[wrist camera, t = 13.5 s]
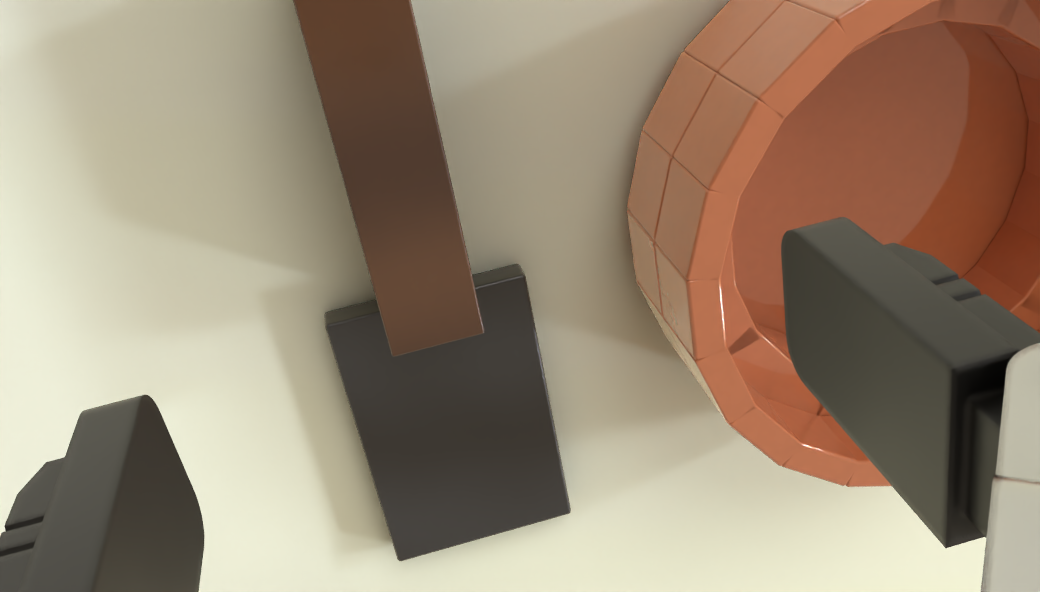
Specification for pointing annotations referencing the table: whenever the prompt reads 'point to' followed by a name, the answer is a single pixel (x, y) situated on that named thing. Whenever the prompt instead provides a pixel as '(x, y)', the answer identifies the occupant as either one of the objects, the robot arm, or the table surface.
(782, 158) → the bowl
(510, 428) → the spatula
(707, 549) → the table surface
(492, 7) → the table surface
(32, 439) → the table surface
